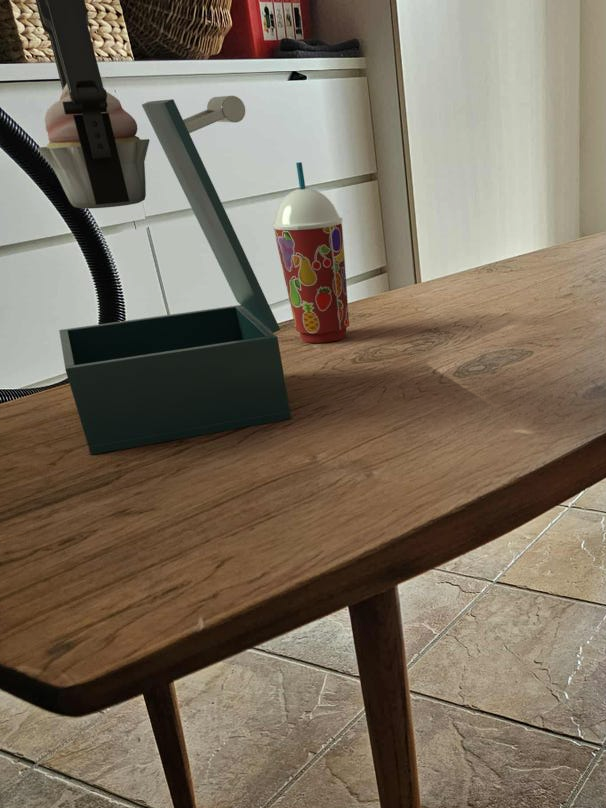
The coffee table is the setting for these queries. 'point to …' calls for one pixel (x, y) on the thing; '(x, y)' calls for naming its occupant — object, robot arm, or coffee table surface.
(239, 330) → the dark green box
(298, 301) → the smoothie
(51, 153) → the cupcake
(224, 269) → the lid
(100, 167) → the robot arm
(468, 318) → the coffee table surface
